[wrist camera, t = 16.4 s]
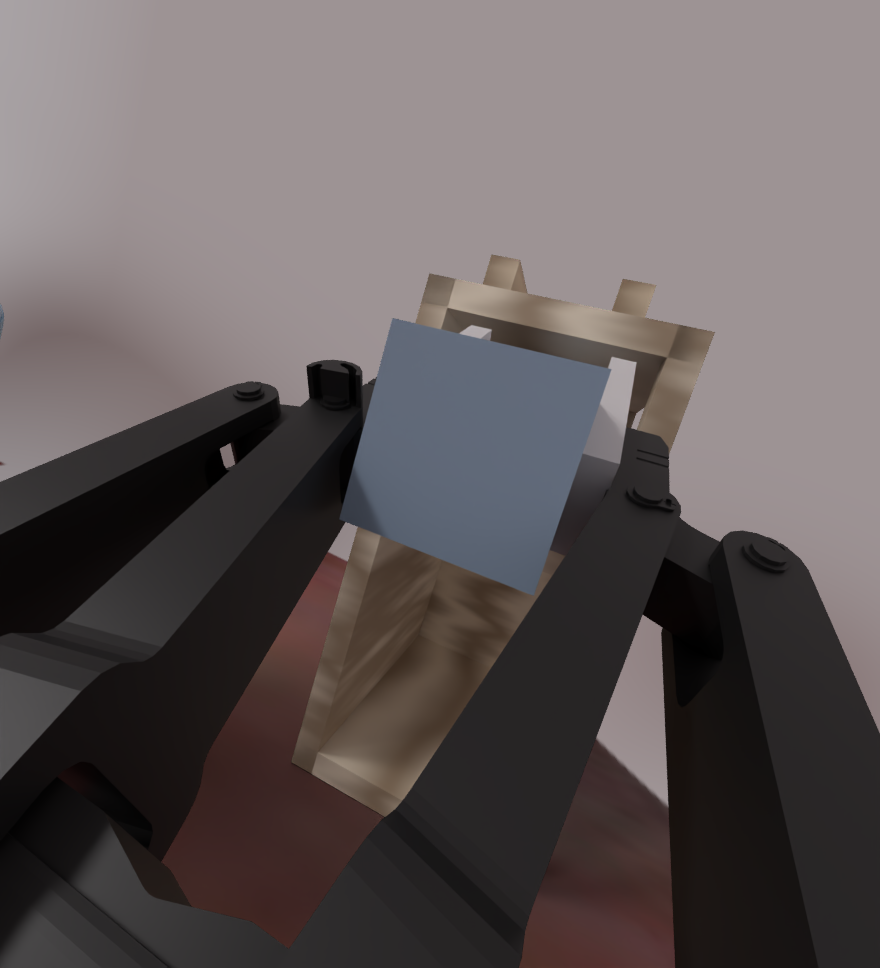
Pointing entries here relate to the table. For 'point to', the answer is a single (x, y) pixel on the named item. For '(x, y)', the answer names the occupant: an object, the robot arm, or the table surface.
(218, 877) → the table surface
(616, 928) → the table surface
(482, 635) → the shelf stand
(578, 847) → the table surface
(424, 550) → the block
